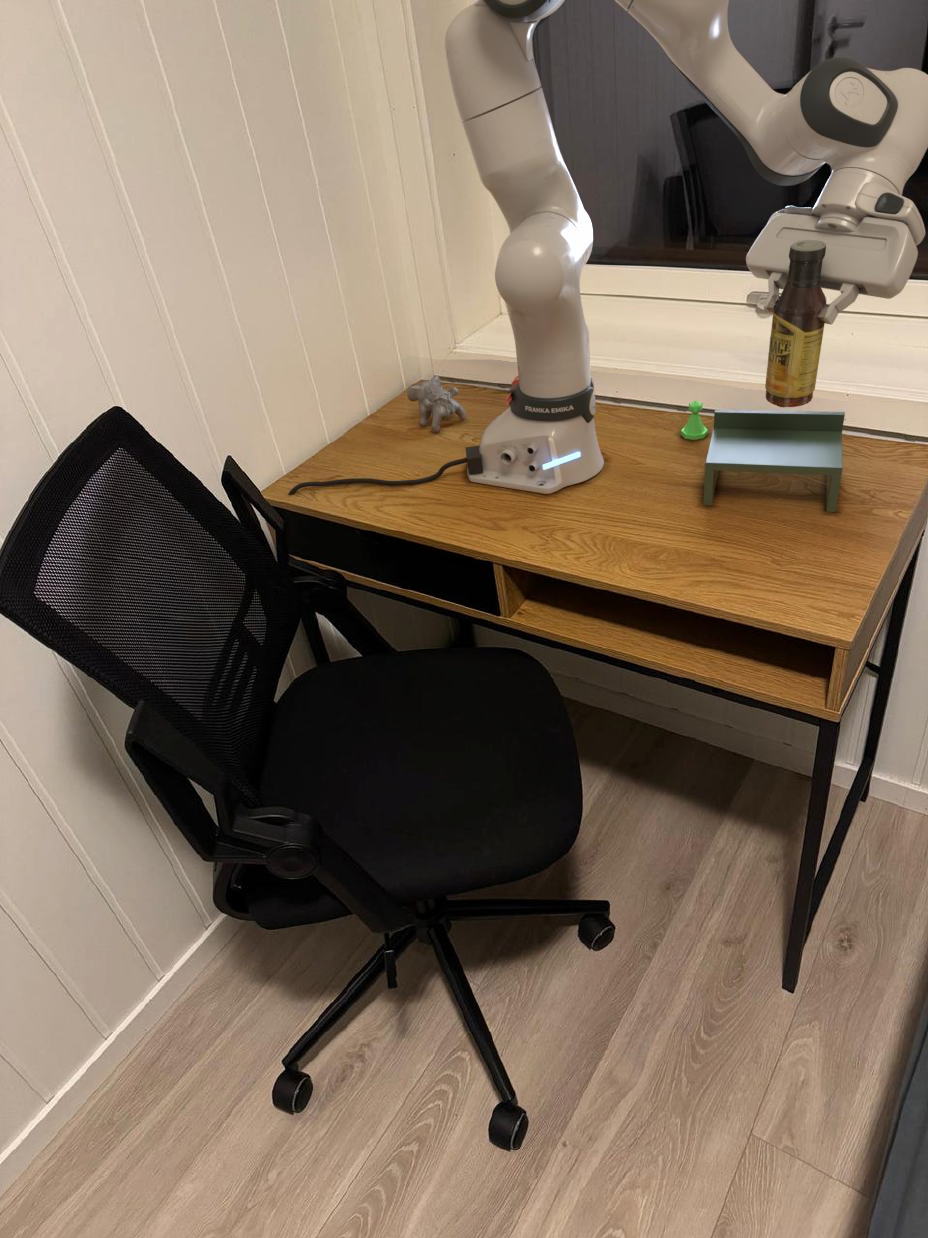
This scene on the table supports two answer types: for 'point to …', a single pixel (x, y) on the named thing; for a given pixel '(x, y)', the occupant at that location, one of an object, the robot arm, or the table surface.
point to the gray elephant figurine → (435, 402)
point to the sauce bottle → (797, 329)
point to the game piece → (694, 423)
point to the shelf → (776, 446)
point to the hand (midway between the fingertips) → (796, 316)
